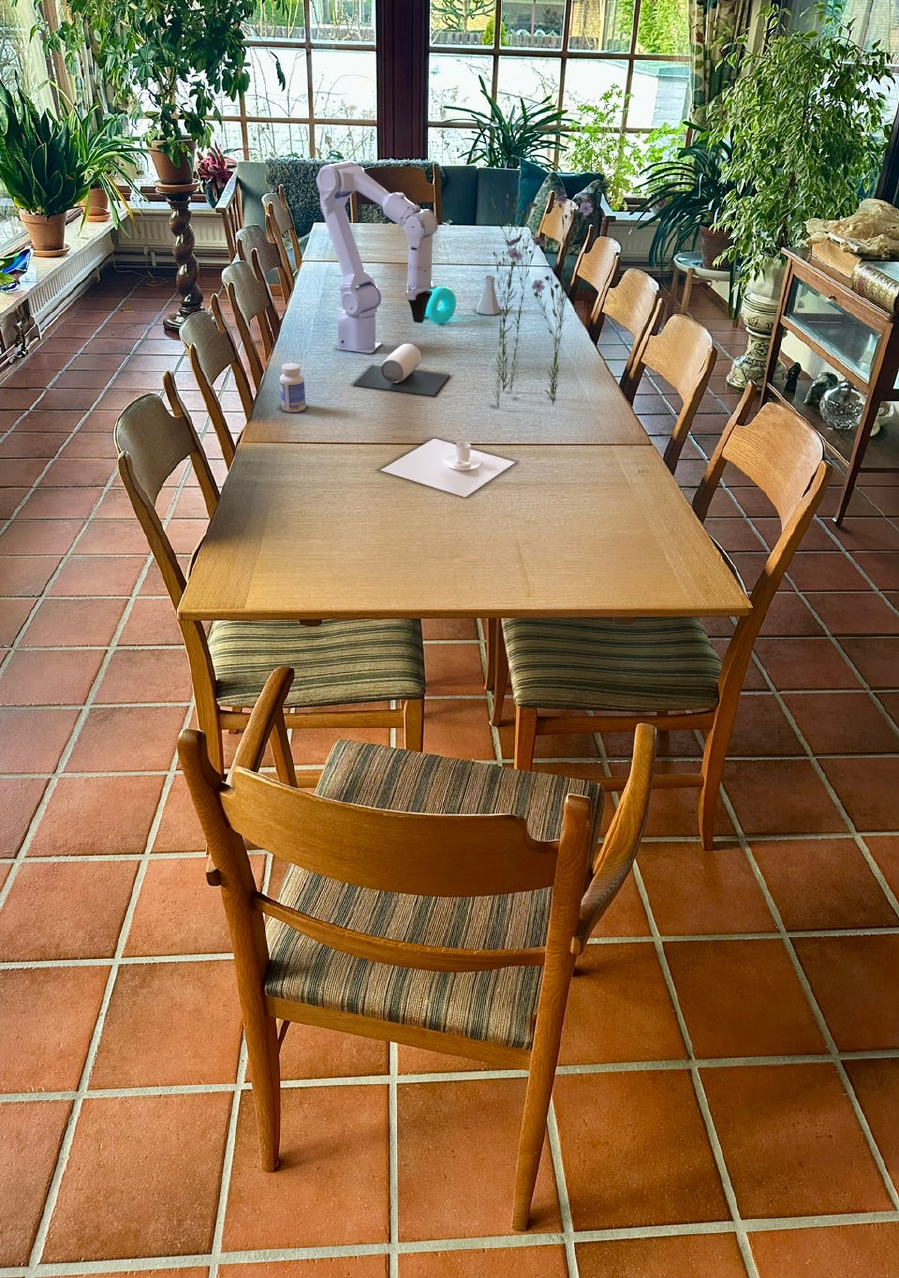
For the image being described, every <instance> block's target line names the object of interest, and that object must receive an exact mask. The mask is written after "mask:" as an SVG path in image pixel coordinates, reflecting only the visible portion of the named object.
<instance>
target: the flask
mask: <svg viewBox="0 0 899 1278" xmlns="http://www.w3.org/2000/svg"><path fill="white" fill-rule="evenodd" d="M484 280H485V283H484V287H483V291H482V294H481V296H480V299H479V301H478V304H477V306H476V310H475V312H476V313H479V314H481V315H497V314H500V312H499V310H500V308H499V307H500V303H499V301H498V296H497V293H496V288H495V280H496V276H495V275H492V274H490V275H489V274H486V275H484Z"/></svg>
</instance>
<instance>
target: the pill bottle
mask: <svg viewBox="0 0 899 1278" xmlns="http://www.w3.org/2000/svg"><path fill="white" fill-rule="evenodd" d="M281 373H282V374H281V375H280V376H279V390H280V391H279V392H280V406H281V409H282V410H283V411H285V412H287V413H298V412H302V411H304V410H305V409H306V390H305V389H306V387H305V377H304V375H302V373H301V366H300V365H299V364H298V363H292V362H291V363H284V364H282V366H281Z"/></svg>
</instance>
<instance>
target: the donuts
mask: <svg viewBox="0 0 899 1278" xmlns="http://www.w3.org/2000/svg"><path fill="white" fill-rule="evenodd" d="M431 283H432V284H434V285H436V284H435V282H433V281H431ZM427 291H432V296H431V297H430V299H429V302H428V305H427V308H426V313H425V317H424V318H428V319H429V320H430V321H431V322H432V323H434V324H441V325H442V324H444V323H447V322H448V321H449V320H450V319H451V318H453V315H454V313H455V311H456V306H457V298H456V295H455V293H454V291H453V290H452V289H451V288H449V287H447V286H439V287H438V286H437V285H436V288H435V289H430V290H427ZM440 303H441V304H440ZM439 304H440V306H439Z"/></svg>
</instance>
